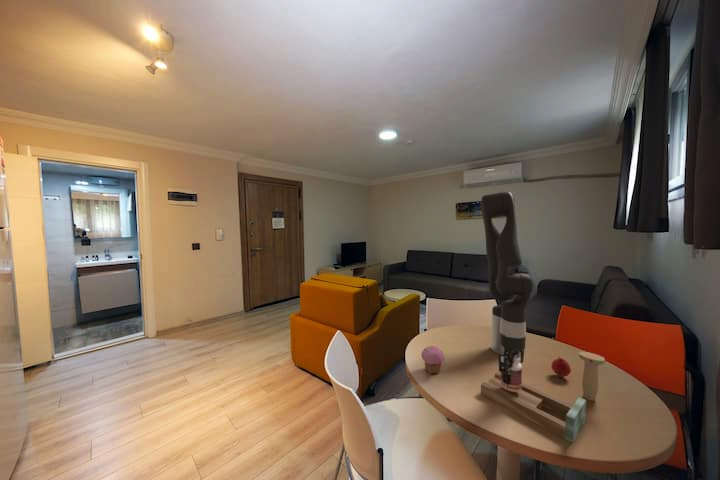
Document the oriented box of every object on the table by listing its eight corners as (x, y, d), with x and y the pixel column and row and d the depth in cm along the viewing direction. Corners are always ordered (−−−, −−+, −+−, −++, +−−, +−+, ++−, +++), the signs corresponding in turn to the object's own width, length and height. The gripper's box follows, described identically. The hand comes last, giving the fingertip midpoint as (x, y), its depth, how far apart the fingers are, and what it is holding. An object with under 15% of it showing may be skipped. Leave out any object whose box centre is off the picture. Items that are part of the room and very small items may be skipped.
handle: (601, 406, 85) (604, 362, 84) (576, 397, 90) (578, 355, 89) (602, 399, 89) (605, 356, 88) (577, 390, 93) (580, 350, 92)
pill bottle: (525, 388, 89) (526, 357, 88) (515, 395, 86) (516, 363, 85) (506, 379, 94) (507, 349, 93) (496, 385, 91) (497, 354, 90)
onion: (567, 374, 103) (568, 354, 102) (572, 382, 98) (573, 362, 97) (549, 371, 105) (550, 351, 105) (553, 379, 100) (554, 359, 99)
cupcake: (438, 364, 112) (438, 341, 111) (447, 376, 103) (448, 352, 102) (418, 366, 110) (418, 343, 110) (426, 378, 102) (426, 353, 101)
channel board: (497, 380, 100) (497, 362, 99) (585, 421, 79) (586, 399, 79) (480, 393, 93) (481, 374, 92) (572, 442, 72) (573, 418, 72)
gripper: (510, 323, 96) (509, 367, 97) (490, 334, 87) (489, 382, 89) (533, 330, 90) (532, 376, 91) (514, 342, 81) (513, 394, 83)
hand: (511, 379), depth 90 cm, fingers closed on pill bottle, 6 cm apart
